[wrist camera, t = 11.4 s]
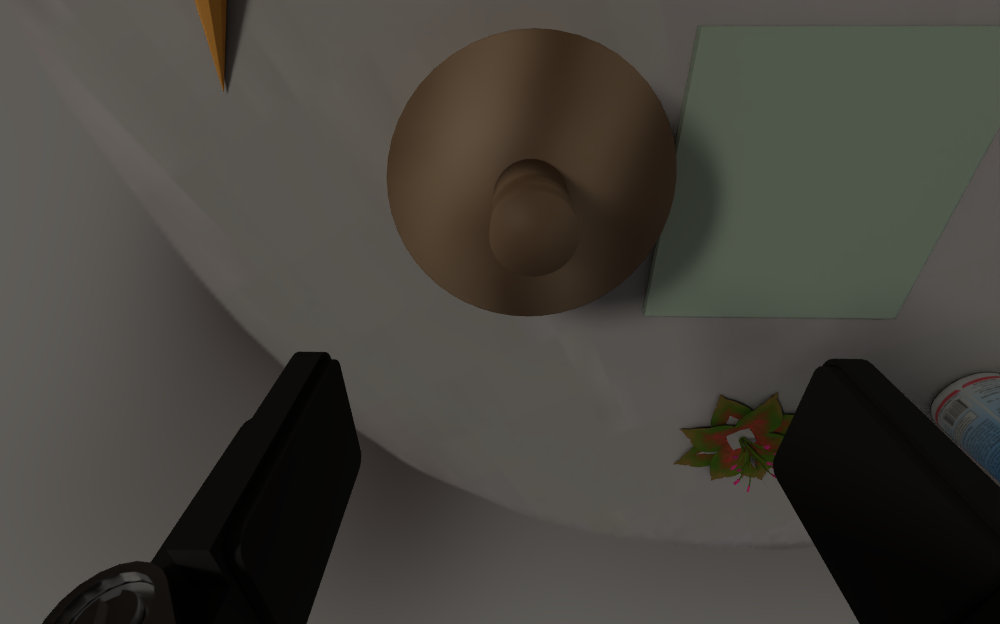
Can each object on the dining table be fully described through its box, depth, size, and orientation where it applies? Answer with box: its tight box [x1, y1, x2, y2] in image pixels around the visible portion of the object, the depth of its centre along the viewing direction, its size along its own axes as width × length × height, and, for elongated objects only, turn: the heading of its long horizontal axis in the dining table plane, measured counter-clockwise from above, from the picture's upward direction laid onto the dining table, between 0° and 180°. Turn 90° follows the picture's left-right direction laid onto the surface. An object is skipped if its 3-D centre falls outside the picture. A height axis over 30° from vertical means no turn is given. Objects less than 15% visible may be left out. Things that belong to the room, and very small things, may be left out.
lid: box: [387, 28, 677, 316], centre depth 21 cm, size 14×14×6 cm
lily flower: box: [674, 392, 794, 492], centre depth 40 cm, size 12×12×5 cm
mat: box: [643, 26, 1000, 319], centre depth 29 cm, size 18×18×1 cm
